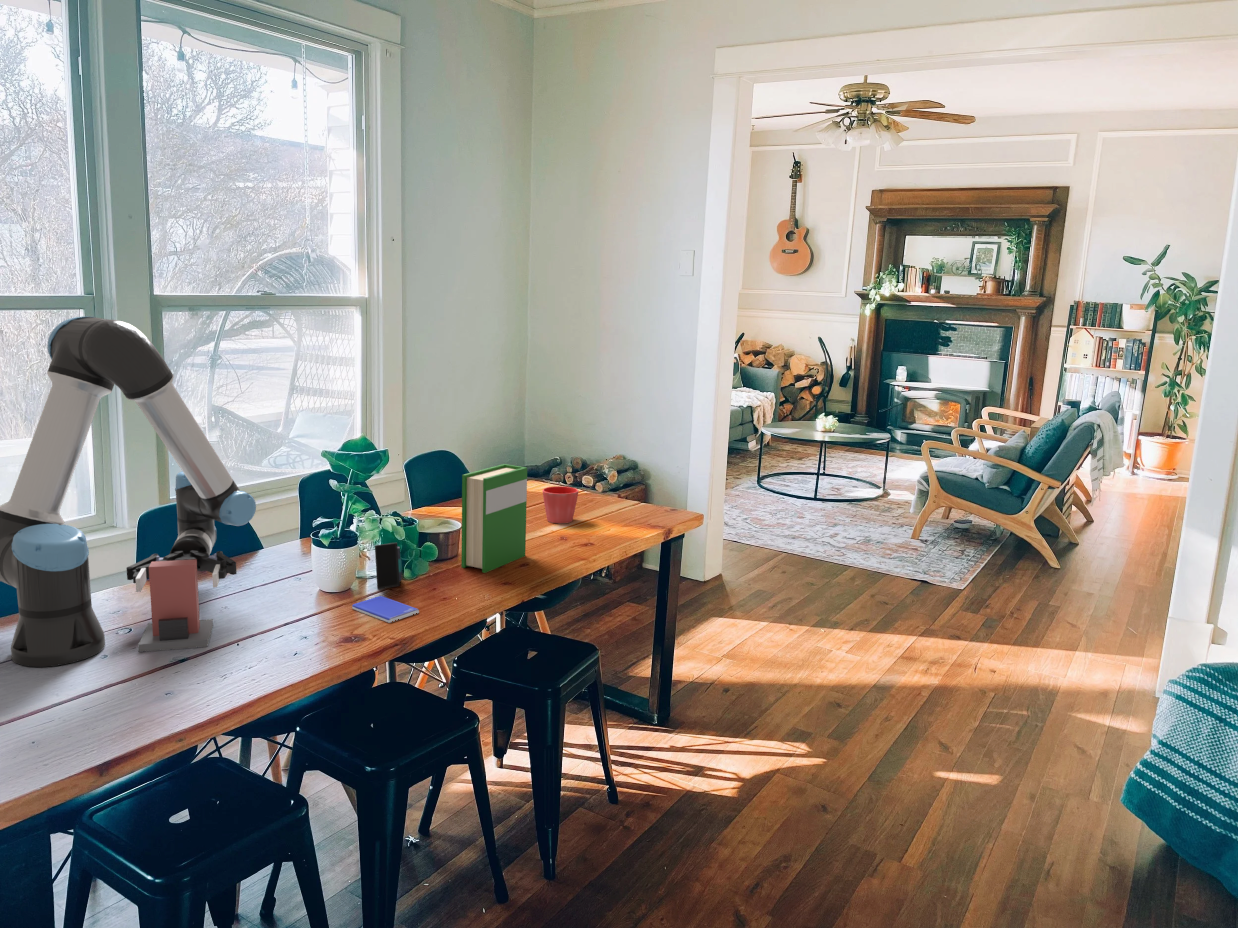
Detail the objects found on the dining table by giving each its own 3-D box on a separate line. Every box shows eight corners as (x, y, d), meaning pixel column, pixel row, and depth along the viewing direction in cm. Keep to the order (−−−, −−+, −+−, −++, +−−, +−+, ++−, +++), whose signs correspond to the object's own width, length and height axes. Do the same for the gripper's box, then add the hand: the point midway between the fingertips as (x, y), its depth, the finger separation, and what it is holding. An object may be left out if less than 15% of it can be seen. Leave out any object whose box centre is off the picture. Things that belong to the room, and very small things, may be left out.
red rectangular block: (152, 636, 179) (148, 567, 176) (155, 629, 182) (151, 561, 179) (197, 632, 181) (194, 564, 178) (200, 626, 184) (196, 559, 182)
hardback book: (485, 572, 230) (486, 479, 225) (461, 567, 233) (462, 474, 228) (525, 555, 245) (527, 467, 240) (502, 551, 248) (504, 463, 243)
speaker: (402, 587, 216) (400, 544, 214) (377, 589, 214) (374, 545, 213) (402, 580, 223) (400, 538, 222) (378, 582, 222) (375, 539, 220)
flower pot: (541, 515, 286) (542, 485, 284) (576, 516, 287) (577, 486, 286) (542, 524, 276) (543, 493, 274) (578, 525, 277) (579, 493, 275)
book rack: (138, 651, 175) (136, 624, 174) (148, 630, 185) (146, 604, 184) (207, 646, 179) (206, 619, 177) (213, 625, 189) (212, 600, 188)
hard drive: (418, 608, 201) (381, 594, 208) (389, 618, 194) (351, 604, 202) (418, 615, 201) (381, 601, 208) (389, 625, 195) (352, 610, 202)
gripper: (253, 564, 204) (246, 597, 184) (128, 571, 196) (106, 605, 176) (252, 532, 202) (244, 561, 182) (125, 537, 195) (103, 568, 175)
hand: (176, 583), depth 179 cm, fingers open, 13 cm apart
